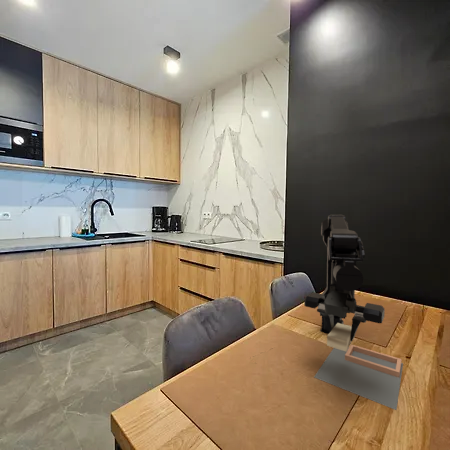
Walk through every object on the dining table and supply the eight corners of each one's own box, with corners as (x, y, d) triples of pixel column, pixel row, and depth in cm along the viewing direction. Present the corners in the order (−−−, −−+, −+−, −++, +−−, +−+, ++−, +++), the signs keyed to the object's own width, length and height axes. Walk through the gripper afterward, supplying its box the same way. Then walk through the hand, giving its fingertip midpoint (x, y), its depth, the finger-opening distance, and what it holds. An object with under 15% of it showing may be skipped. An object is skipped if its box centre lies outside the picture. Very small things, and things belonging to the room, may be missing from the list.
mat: (313, 378, 67) (313, 377, 67) (336, 344, 84) (336, 343, 84) (396, 411, 56) (396, 409, 56) (403, 364, 73) (403, 363, 73)
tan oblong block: (346, 351, 63) (346, 341, 63) (326, 345, 66) (327, 335, 66) (354, 336, 71) (355, 327, 71) (337, 331, 74) (337, 322, 73)
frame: (344, 359, 75) (344, 355, 75) (350, 348, 81) (351, 344, 81) (399, 377, 67) (399, 372, 66) (401, 363, 73) (401, 359, 73)
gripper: (297, 280, 67) (296, 338, 68) (379, 294, 55) (377, 364, 56) (311, 272, 76) (310, 324, 76) (385, 283, 64) (383, 344, 65)
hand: (341, 337), depth 68 cm, fingers closed on tan oblong block, 5 cm apart
